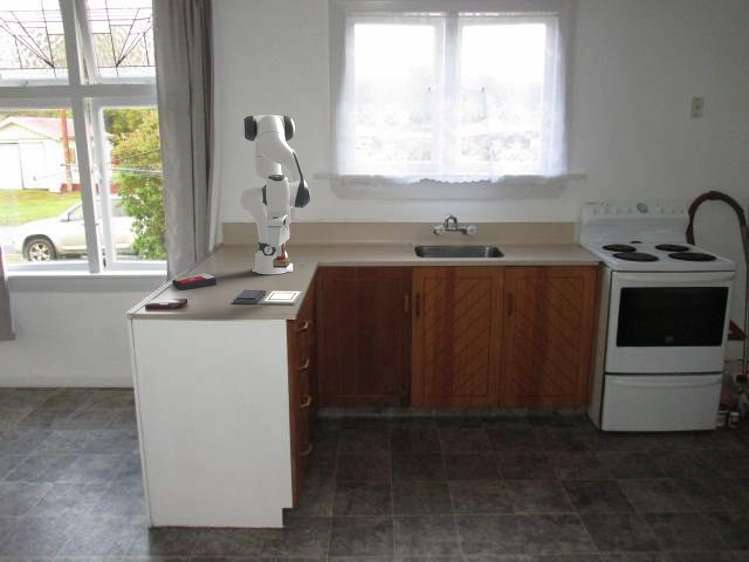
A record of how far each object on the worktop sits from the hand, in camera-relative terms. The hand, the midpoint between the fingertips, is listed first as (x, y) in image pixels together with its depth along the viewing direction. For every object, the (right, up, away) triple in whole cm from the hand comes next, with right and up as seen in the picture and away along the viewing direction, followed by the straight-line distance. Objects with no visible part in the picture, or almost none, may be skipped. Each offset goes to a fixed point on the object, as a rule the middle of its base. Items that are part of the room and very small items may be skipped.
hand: (280, 254), depth 235 cm
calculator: (-41, -12, +26) cm, 50 cm away
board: (0, -17, +4) cm, 17 cm away
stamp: (0, -4, +1) cm, 4 cm away
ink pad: (-12, -17, +4) cm, 21 cm away
